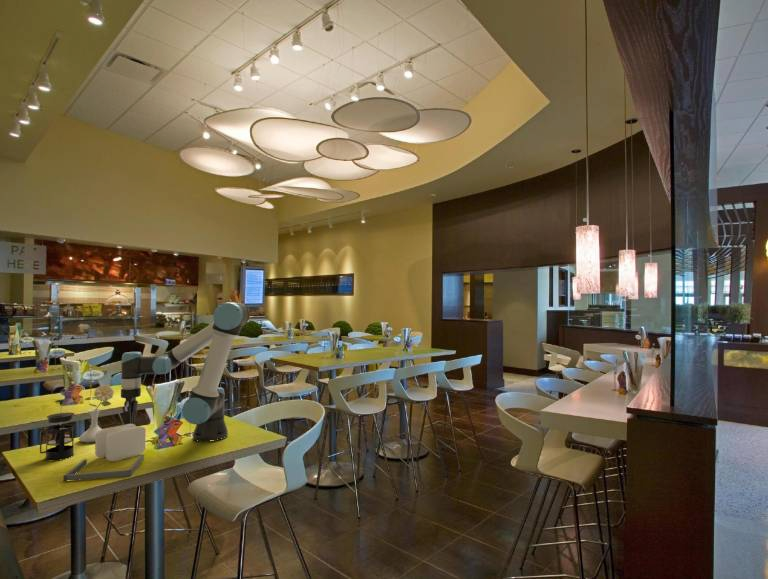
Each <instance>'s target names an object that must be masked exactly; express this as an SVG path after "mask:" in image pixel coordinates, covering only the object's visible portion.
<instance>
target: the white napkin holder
mask: <svg viewBox="0 0 768 579" xmlns="http://www.w3.org/2000/svg"><path fill="white" fill-rule="evenodd" d="M146 433H147V432H146V428H145V427H143V426H141V425H139V426H137V424H126V425H124V424H121V425H117V426H116V425H115V426H111V427H106V428H101V430H99V431H98V432H97V433H96V441H95V444H94V445H95V446H94V447H95V448H94V450H95V453H94V454H95V455H94V456H96V457H98V458H104V457H106V460H107V461H108V462H114V461H116V462H119V461H121V460H124V459H127V458H134V457H133V456H135V457H138V456H137V455H139V456H141V455H143V453H145V450H146V438H147V437H146ZM118 460H119V461H118ZM114 463H115V462H114Z"/></svg>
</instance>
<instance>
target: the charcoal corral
mask: <svg viewBox="0 0 768 579" xmlns="http://www.w3.org/2000/svg"><path fill="white" fill-rule="evenodd" d="M143 460H144V461H145V455H144V454H140V455H139V456H138V458H137V459H135V461H134V463H132V465H131V466H130V467H129V469H121V470H107V471H96V472H82V473H81V472H80V471H79V470H80V469H81V468H82V469H83V468H84V467H86V466H87V465H86V464H88V462H87V461H88V459H86V458H84V459H83V460H81V461H80V462H79V463H78V464H76V465H75V466H74V467H72V468H71V469H70V470H69V471H68V472H66V473H65V474H64V475H63V478H62V482H63V481H66V482H68V481H67V480H77V481H80V480H79V479H89V480H95V479H94V478H101V479H110V478H111V477H113V478H123V477H122V476H124V477H132V475H133V473H135V471H137V469H138V468H139V466H140V465H141V464H142V463H143V462H144V461H143ZM142 461H143V462H142ZM141 462H142V463H141ZM82 469H81V470H82ZM76 472H77V473H76ZM79 472H80V473H79ZM75 473H76V474H75Z"/></svg>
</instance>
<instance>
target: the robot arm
mask: <svg viewBox="0 0 768 579" xmlns="http://www.w3.org/2000/svg"><path fill="white" fill-rule="evenodd" d="M212 315H213V317H212V319H213V322H212V323H210V324H209V325H207V326H206V327H204V328H203V329H201V330H200V331H198V332H196V333H195V334H193V335H192V336H190V337H189V338H187V339H186V340H184V341H183V342H181V343H179V344H178V345H176V346H175V347H174V348H172V349H170V350H168V351H167V352H165V353H164V354H160V355H155V356H143V354H142V352H141V351H129V352H123V354H122V356H121V362H120V363H121V377H120V378H121V380H120V381H119V383H121V384H120V388H121V389H120V398H122V399H125V401H124V405H123V407H122V414H123V425H126V424H134V425H136V423H137V422H136V421H137V412H138V404H139V402H138V400H137V398H138V397H141V395H142V394H141V393H142V392H141V391H142V389H141V386H142V375H146V374H147V375H164V374H165V375H166V374H168V373H170V371H172V370H173V369H176V368H177V367H178V366H179V365H180V364H182V363H183V362H185V361H186V360H187V359H189V358H191V357H192V356H193V355H195V354H197V353H198V352H199V351H201V350H202V349H204V348H206V347H207V346H209V348H208V351H207V354H206V357H205V361H204V364H203V366H202V369H201V371H200V372H201V373H200V375H199V378H198V381H197V385H196V386H194V387H192V388H191V391H190V394H189V397H188V399H187V400H185V402H184V403H183V405H182V407H181V414H182V417H183V418H184V420H185V421H186V422H187V423H189V424H192V425H195V428H194V430H193V433H192V440H193V439H194V440H198V441H210V440H217V439H221V438H224V437H226V436H227V435H228V436H229V431H228V427H227V425H226V424H227V423H226V421H225V396H226V394H225V389H224V388H223V387H219V384H220V382H221V379H222V376H223V373H224V371H225V367H226V365H227V361H228V358H229V354H230V352H231V349H232V346H233V343H234V340H235V338H238V337H239V336H240V332H241V330H242V328H243V327H244V326H245V325H247V324H248V322H249V320H250V318H251V317H250V316H251V313H250V310H249V308H248V307H247V305H245V304H244V303H242V302H233V301H226V302H222V303H221V304H219V305H218V306H216V308H215V310H214V312H213V314H212ZM228 436H227V437H228ZM227 437H226V438H227ZM224 439H225V438H224ZM194 440H193V441H194ZM221 440H222V439H221ZM198 441H197V442H198ZM217 441H218V440H217Z"/></svg>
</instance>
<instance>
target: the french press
mask: <svg viewBox="0 0 768 579" xmlns="http://www.w3.org/2000/svg"><path fill="white" fill-rule="evenodd" d="M67 401H68V399H66V398H65V399H64V398H62V399H57V400H55V401H54V402H55V403H59V405H60V410H59V413H57V412H56V413H54V414H53V413H52V414H49V415H47V416H46V418H47V419H48V421H47V422H48V423H50V424H57V425H53V426H49V427H47V428H46V429H42V430H40V432H39V434H40V435H39V437H40V438H39V454H45V457H44V460H45V459H46V460H58V461H61V460H60V459H64V460H66V459H65V458H67V459H70V458H72V457H74V455H75V453H74V441H75V440H74V439H75V438H74V437H75V435H74V434H75V425H74V424H71V423H68V424H67V423H66V422H69V421H71V420H72V419H73V417H74V416H75V413H74V412H62V411H63V410H62V408H63V403H64V402H67ZM58 423H59V424H58ZM62 423H66V424H62ZM71 431H72V434H71V436H72V438H71V437H66V436H65V435H66V434H65V433H67V432H71ZM43 432H46V441H45V442H46V443H45V450H44V451H42V443H43V442H42V440H43V439H42V438H43V436H42V435H43ZM48 434H51V435H52V434H55V439H53V440H50V441H48V437H49V436H48ZM70 443H71V444H72V445H70ZM68 444H69V445H68ZM48 446H51V447H50V448H48ZM52 446H53V447H52ZM71 456H72V457H71ZM69 457H70V458H69ZM46 460H45V461H46Z"/></svg>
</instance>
